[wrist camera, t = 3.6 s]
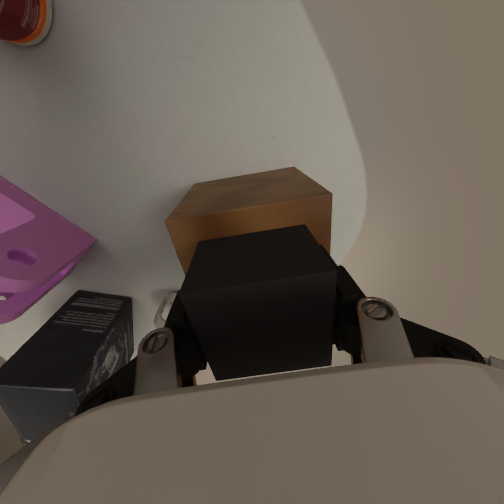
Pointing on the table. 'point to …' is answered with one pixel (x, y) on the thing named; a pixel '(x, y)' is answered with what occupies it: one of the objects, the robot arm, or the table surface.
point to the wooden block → (249, 209)
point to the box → (66, 361)
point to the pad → (262, 302)
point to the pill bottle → (25, 21)
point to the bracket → (33, 250)
